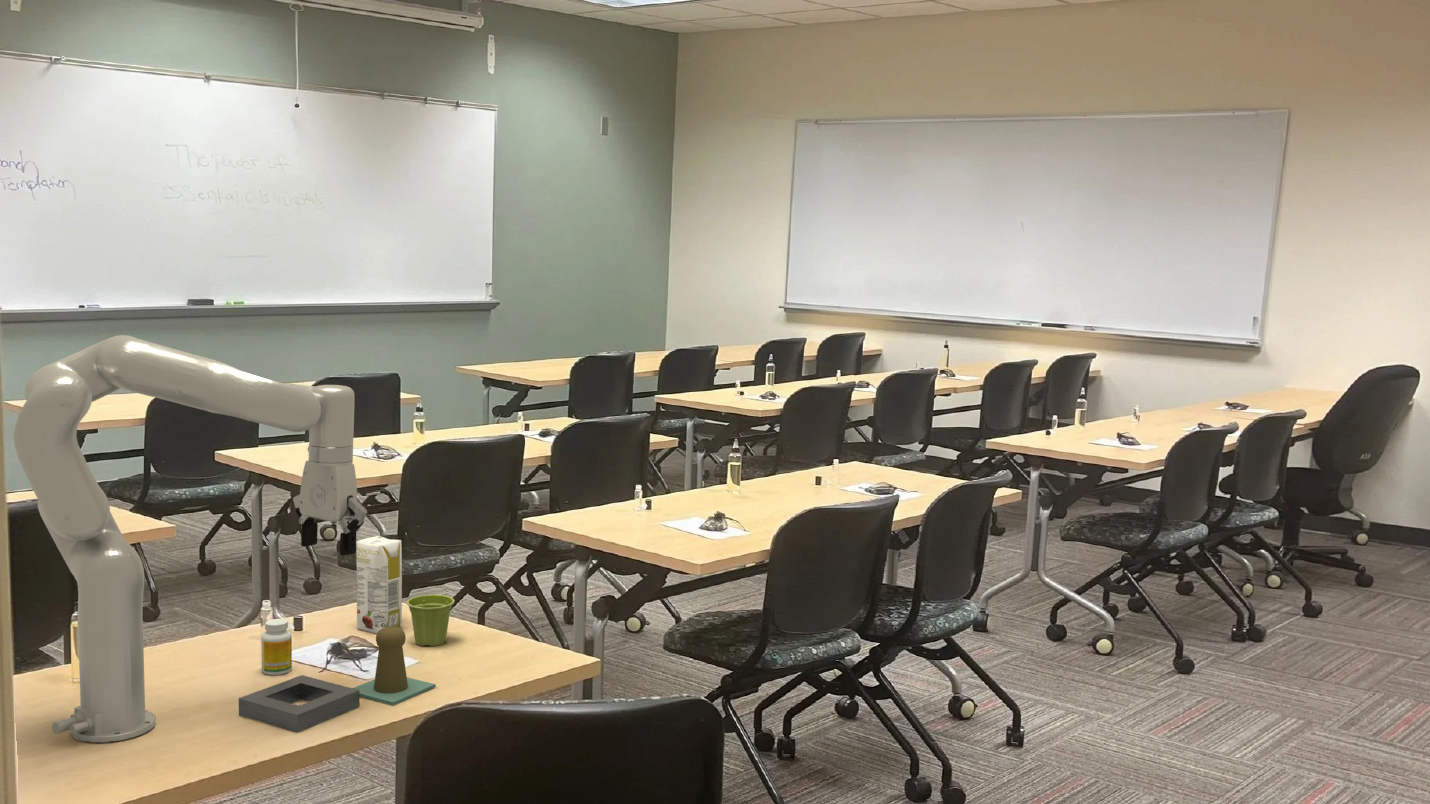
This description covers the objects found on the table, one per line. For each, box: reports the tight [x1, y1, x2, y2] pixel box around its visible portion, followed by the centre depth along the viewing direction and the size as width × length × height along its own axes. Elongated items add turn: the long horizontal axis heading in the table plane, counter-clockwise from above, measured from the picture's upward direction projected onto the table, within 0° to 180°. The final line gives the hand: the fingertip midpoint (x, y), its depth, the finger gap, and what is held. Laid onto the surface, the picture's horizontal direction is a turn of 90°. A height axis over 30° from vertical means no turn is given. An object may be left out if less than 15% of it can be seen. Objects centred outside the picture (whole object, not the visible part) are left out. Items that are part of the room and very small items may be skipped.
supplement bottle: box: [261, 618, 293, 676], centre depth 234 cm, size 5×5×10 cm
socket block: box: [238, 674, 361, 733], centre depth 215 cm, size 14×14×3 cm
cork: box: [374, 627, 408, 693], centre depth 225 cm, size 6×6×11 cm
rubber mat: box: [352, 676, 436, 706], centre depth 226 cm, size 11×11×1 cm
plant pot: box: [406, 594, 455, 647], centre depth 253 cm, size 9×9×9 cm
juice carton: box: [356, 535, 403, 635], centre depth 261 cm, size 8×9×19 cm
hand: (328, 549), depth 222 cm, fingers open, 9 cm apart
